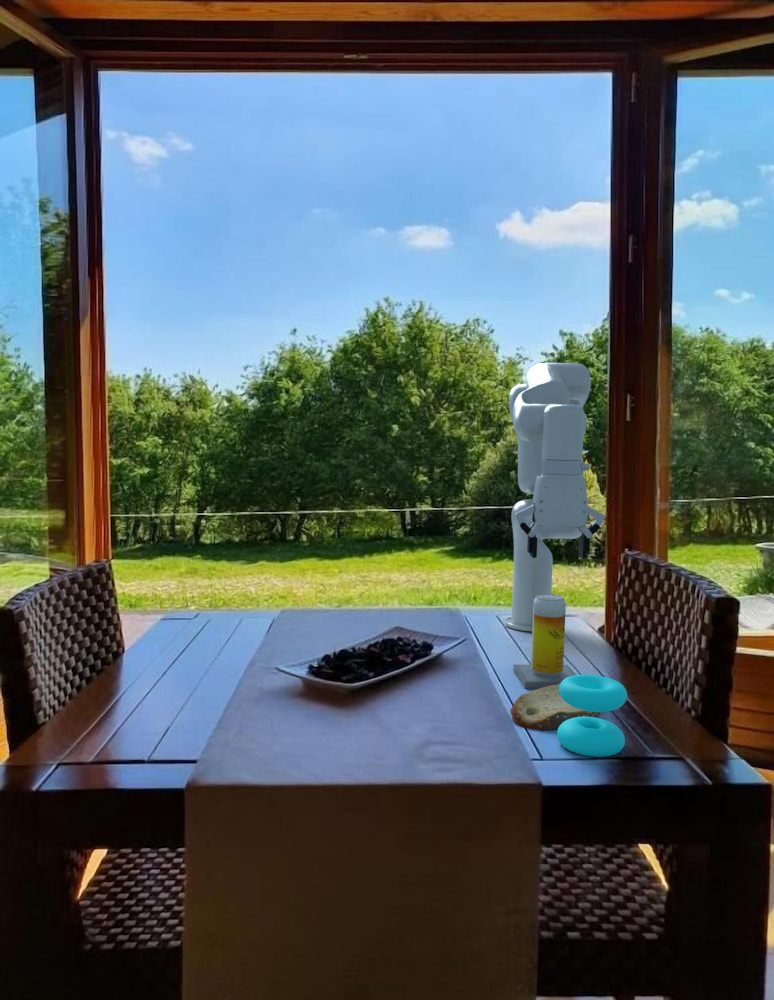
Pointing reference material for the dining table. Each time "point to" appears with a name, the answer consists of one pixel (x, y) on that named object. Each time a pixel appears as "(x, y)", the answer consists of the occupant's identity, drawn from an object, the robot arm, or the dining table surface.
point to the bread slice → (545, 709)
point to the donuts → (590, 731)
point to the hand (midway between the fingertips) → (557, 557)
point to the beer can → (548, 635)
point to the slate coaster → (539, 677)
